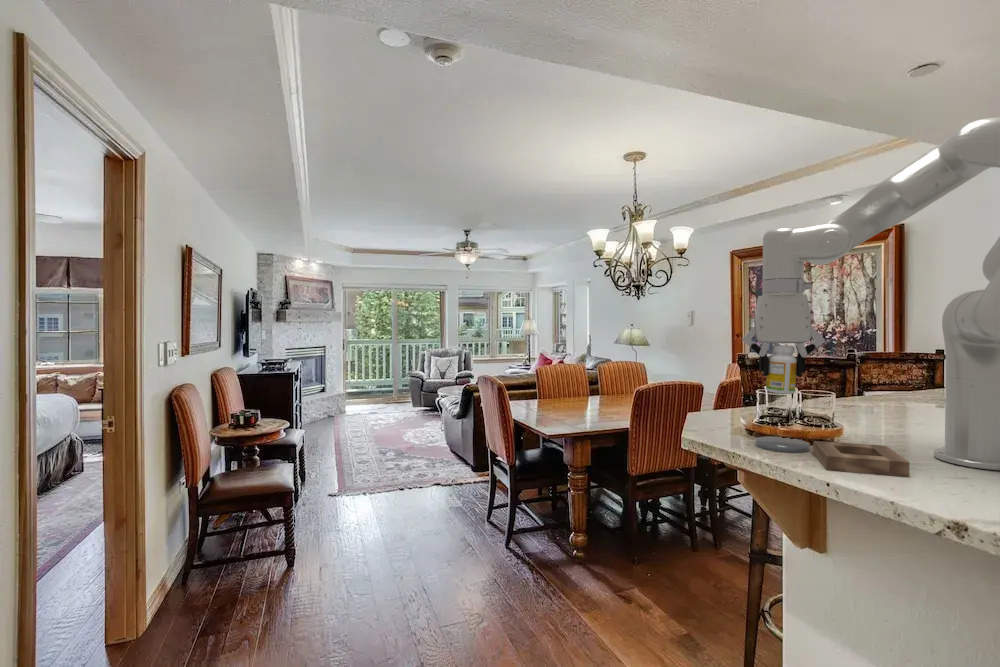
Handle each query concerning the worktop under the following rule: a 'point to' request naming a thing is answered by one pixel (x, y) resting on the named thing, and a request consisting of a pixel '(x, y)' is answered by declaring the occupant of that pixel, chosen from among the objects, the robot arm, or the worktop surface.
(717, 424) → the worktop surface
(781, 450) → the coaster
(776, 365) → the supplement bottle
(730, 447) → the worktop surface
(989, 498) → the worktop surface
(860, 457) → the frame
